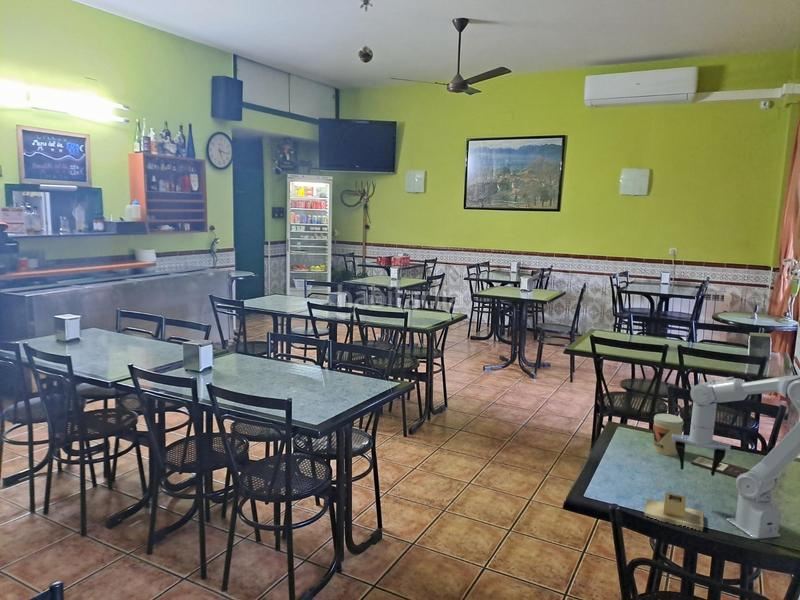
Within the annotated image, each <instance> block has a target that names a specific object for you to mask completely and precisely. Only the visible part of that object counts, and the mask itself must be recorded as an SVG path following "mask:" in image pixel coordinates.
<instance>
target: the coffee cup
mask: <svg viewBox="0 0 800 600" xmlns="http://www.w3.org/2000/svg"><path fill="white" fill-rule="evenodd" d="M684 424H685V422H684V419H683V418H682V417H681V416H677V415H675V414H671V413H657V414H655V415H654V416H653V443H652V445H653V446H652V447H653V451H654V452H656V453H658V454H660V455H663V454H664V456H669V455H670V456H671V457H672V456H676V455H678V453H677V450H676V447H675V444H676V443H672V442H671V440H672V434H677V435H682V433H683V427H684Z"/></svg>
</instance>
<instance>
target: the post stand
mask: <svg viewBox="0 0 800 600" xmlns="http://www.w3.org/2000/svg"><path fill="white" fill-rule="evenodd" d="M671 500H675V501H679V502H680V500H677V499H673V498H671ZM663 512H664V501H663V502H662V501H659V500H654V499H650V498H647V499H646V503H645V508H644V514H643V516H644V515H645V516H648V517H650V518H653V519H652V520H654V519H657V520H656V521H658V520H659V522H663V523H666V522H668V523H667V524H671V525H674V524H675V525H674V526H679V525H682V526H681V527H683V526H686V527H685V528H687V527H689V528H688V529H691V528H693V529H692V530H695V529H696V530H695V531H699V530H700V531H699V532H703V531H704V511H701V510H696V509H694V508H693V509H692V508H689V507H685V514H684V519H683V518H678V517H674V516H670V515H666V514H663ZM650 518H649V519H650Z"/></svg>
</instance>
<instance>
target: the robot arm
mask: <svg viewBox="0 0 800 600" xmlns="http://www.w3.org/2000/svg"><path fill="white" fill-rule="evenodd" d="M772 393H778V394H779V395H780V396H782V397H783V398H789V399H790V401H791V403H792V404H793V406H794V407H795V408H796V410H797V411H798V413H799V415H800V374H798V375H785V376H778V377H777V376H776V377H773V378H766V379H759V380H752V381H744V380H742V379H741V378H739V377H738V378H735V377H734V376H729V377H726V379H723V380H717V381H716V380H715V379H711V380H709V381H706V382H702V383H698V384H696V385H694V386H692V387H691V389H690V398H691V400H692V402H693V404H692V410H691V421H690V431H689V435H687V434H681V435H677V434H672V440H671V442H672V443H676V444H675V447H676V450H677V455H678V458H679V463H680V464H679V466H680V470H684V465H685V464H684V463H685V450H686V445H689V446H693V447H694V446H695V447H699V448H704V449H709V450H713V457H712V459H713V464H712V469H711V470H710V475H711V476H712V477H714V476H715V474H716V472H715V471H716V469H717V467H718V465H719V464H720V462H723V460H724V459H725V457H726V454H730V453H731V447H732V445H731V443H726V442H722V441H718V440H714V430H715V421H716V413H717V404H718V403H719V404H720V403H729V402H738V401H744V400H745V399H746V398H747V397H748V395H757V394H772ZM799 456H800V420H799V421H798V422H797V423H796V424H795V425H794V426H793V427H792V428H791V429H790V430H789V432H787V433H786V435H785V436H783V438H782V439H780V441H779V442H778V443H777V444H776V445H775V446H774V447H773V448H772V449H771V450H770V451H769V453H767V455H766V456H764V458H762V459H761V461H760V462H758V463H756V465H755V466H753V467H752V468H751V469H749V470H750V471H749V472H747V473H744V474H741V475H739V476H738V477H737V478H735V479H736V480H735V487H736V489H737V491H738V495H737V503H736V513H735V517H728V518H726V521H728V522H729V523H730V524H732V525H734V526H735V527H736V528H738V529H739V530H740V531H742V532H744V533H745V534H746V535H748V536H749V537H751V538H752V539H754V540H757V539H758V540H760V539H769V538H776V537H777V538H780V537H781V534H780V533H779V527H780V522H781V516H782V515H781V511H780V508H778V506H776V505H775V504H774V502H773V501H772V490H774V489H775V488H776V487H777V485H778V480H779V478H780V477H781V476H782V473H783V472H784V471H785V470H786V469H787V468H788V467H789V466H790V464H792V463H793V462H794V460H795V459H797V458H798V457H799Z"/></svg>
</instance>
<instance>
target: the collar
mask: <svg viewBox="0 0 800 600" xmlns="http://www.w3.org/2000/svg"><path fill="white" fill-rule="evenodd" d="M671 498H673V499H677V500H680V502H679V501H675V500H671ZM686 500H687V497H686V496H684V495H680V494H676V493H671V492H668V491H667V492H665V495H664V501H663V503H664V512H663V514H666V515H670V516H674V517H678V518H683V519H684V514H685V508H686V504H687V503H686V502H687V501H686Z"/></svg>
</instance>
